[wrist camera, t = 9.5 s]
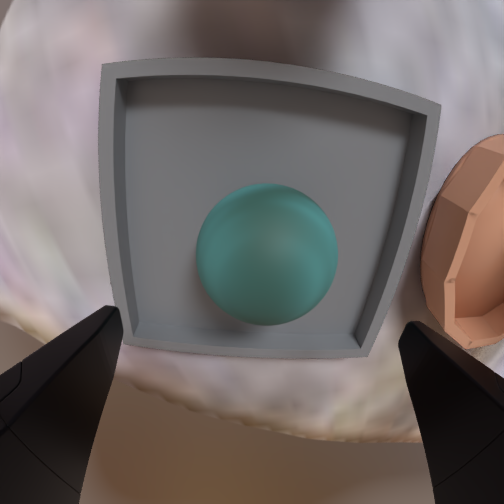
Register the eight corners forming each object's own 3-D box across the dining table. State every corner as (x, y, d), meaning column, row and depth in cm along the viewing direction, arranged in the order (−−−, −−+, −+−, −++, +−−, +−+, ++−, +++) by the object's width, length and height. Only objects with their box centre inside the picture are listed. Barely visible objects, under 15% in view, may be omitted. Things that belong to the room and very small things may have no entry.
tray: (421, 103, 13) (441, 105, 11) (359, 337, 20) (367, 356, 18) (118, 68, 12) (102, 64, 10) (132, 324, 19) (123, 344, 17)
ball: (328, 177, 14) (377, 221, 9) (308, 280, 17) (334, 356, 12) (206, 165, 14) (184, 203, 8) (202, 273, 17) (187, 351, 11)
